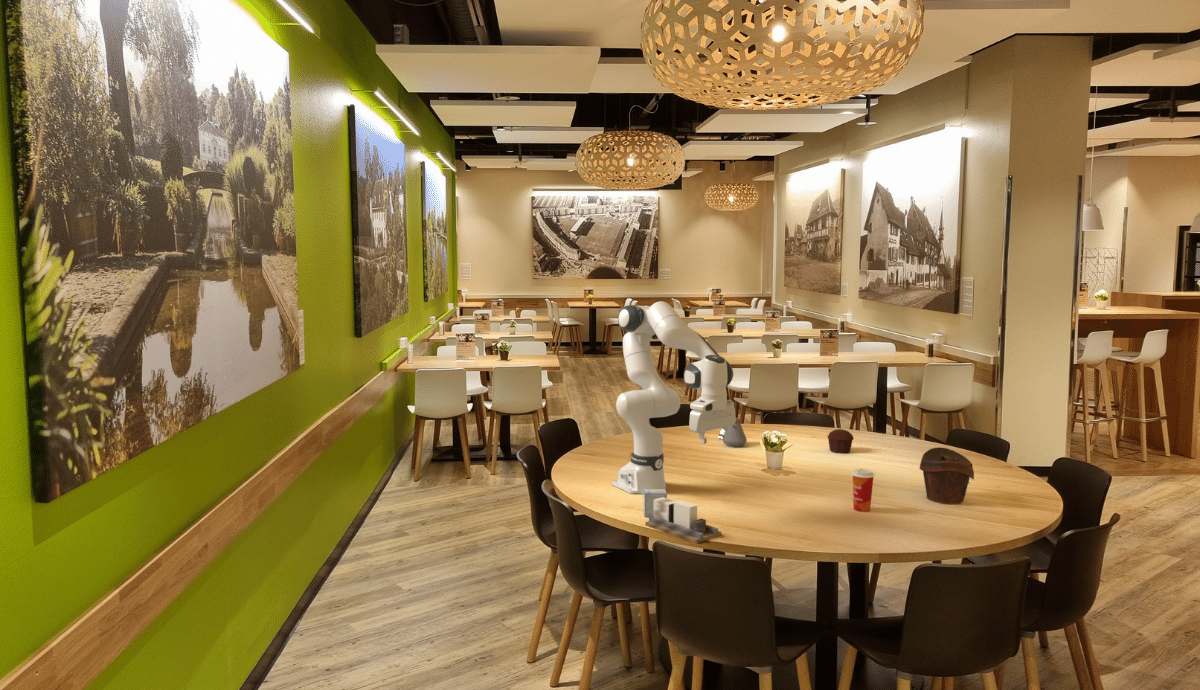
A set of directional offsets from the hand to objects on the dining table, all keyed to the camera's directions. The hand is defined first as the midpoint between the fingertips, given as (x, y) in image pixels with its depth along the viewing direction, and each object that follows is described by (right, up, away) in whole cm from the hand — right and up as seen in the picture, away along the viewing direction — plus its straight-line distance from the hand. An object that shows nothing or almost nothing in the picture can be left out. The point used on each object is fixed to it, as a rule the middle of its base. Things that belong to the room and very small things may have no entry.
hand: (712, 441), depth 283 cm
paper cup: (+54, -25, +6) cm, 60 cm away
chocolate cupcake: (+89, -24, +18) cm, 94 cm away
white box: (-11, -26, -16) cm, 33 cm away
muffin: (+71, -16, +91) cm, 117 cm away
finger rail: (-12, -27, -15) cm, 34 cm away
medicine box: (-20, -26, 0) cm, 33 cm away
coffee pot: (+23, -15, +98) cm, 102 cm away
